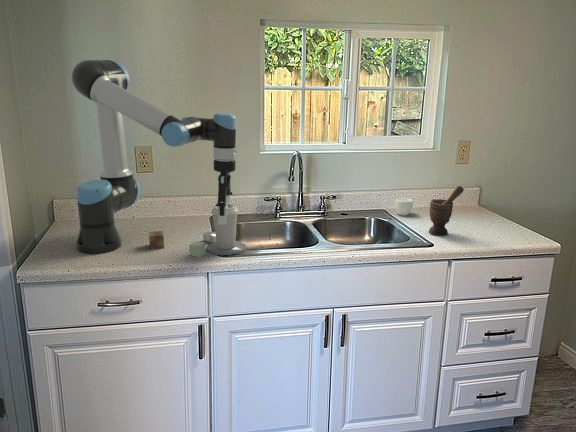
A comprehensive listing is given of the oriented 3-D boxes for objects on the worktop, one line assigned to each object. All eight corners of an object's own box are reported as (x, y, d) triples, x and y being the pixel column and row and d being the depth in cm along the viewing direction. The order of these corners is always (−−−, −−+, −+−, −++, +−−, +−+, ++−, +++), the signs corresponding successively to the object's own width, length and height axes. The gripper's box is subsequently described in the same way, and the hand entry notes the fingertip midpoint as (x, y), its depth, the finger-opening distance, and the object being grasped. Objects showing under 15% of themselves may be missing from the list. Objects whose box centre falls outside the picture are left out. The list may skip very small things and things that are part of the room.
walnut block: (149, 249, 190) (149, 236, 189) (149, 244, 195) (148, 231, 194) (164, 248, 192) (163, 235, 190) (163, 243, 196) (162, 230, 195)
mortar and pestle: (452, 230, 216) (458, 182, 210) (460, 236, 208) (466, 187, 202) (424, 230, 216) (429, 182, 210) (431, 237, 207) (436, 187, 202)
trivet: (204, 255, 185) (204, 253, 185) (209, 242, 198) (209, 240, 198) (244, 255, 185) (244, 253, 185) (247, 242, 198) (247, 240, 198)
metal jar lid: (202, 243, 197) (202, 236, 196) (204, 239, 202) (204, 231, 201) (215, 243, 197) (215, 236, 196) (217, 239, 202) (217, 231, 201)
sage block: (189, 255, 185) (189, 244, 184) (195, 251, 188) (195, 241, 187) (199, 257, 183) (199, 246, 182) (205, 253, 187) (205, 242, 186)
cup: (396, 216, 234) (397, 201, 232) (391, 210, 243) (392, 196, 241) (413, 216, 234) (414, 202, 232) (408, 210, 243) (409, 196, 241)
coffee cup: (234, 251, 186) (233, 210, 182) (209, 249, 188) (207, 208, 184) (242, 242, 195) (241, 203, 191) (217, 241, 197) (216, 202, 193)
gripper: (232, 167, 170) (231, 229, 177) (238, 153, 194) (237, 208, 201) (208, 166, 170) (208, 228, 177) (217, 152, 194) (217, 208, 200)
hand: (224, 218), depth 189 cm, fingers open, 13 cm apart
